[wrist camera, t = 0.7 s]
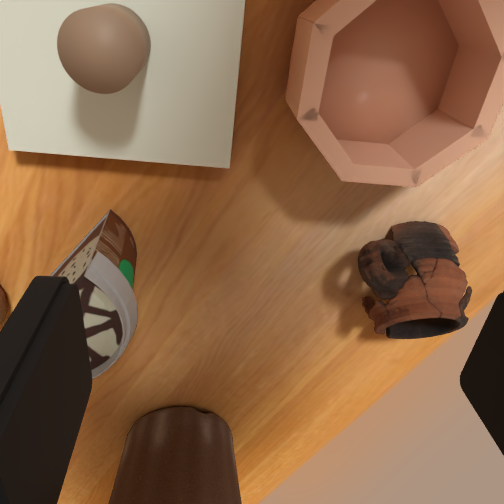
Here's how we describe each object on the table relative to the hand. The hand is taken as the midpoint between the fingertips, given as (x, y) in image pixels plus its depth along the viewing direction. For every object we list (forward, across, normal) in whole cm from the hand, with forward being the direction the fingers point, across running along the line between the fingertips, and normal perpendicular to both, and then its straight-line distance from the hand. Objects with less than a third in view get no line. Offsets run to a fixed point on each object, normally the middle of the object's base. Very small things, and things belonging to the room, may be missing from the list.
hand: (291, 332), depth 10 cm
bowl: (+24, -9, -3) cm, 26 cm away
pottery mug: (+24, -15, +13) cm, 32 cm away
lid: (+23, +8, -3) cm, 25 cm away
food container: (+24, +10, +14) cm, 30 cm away
